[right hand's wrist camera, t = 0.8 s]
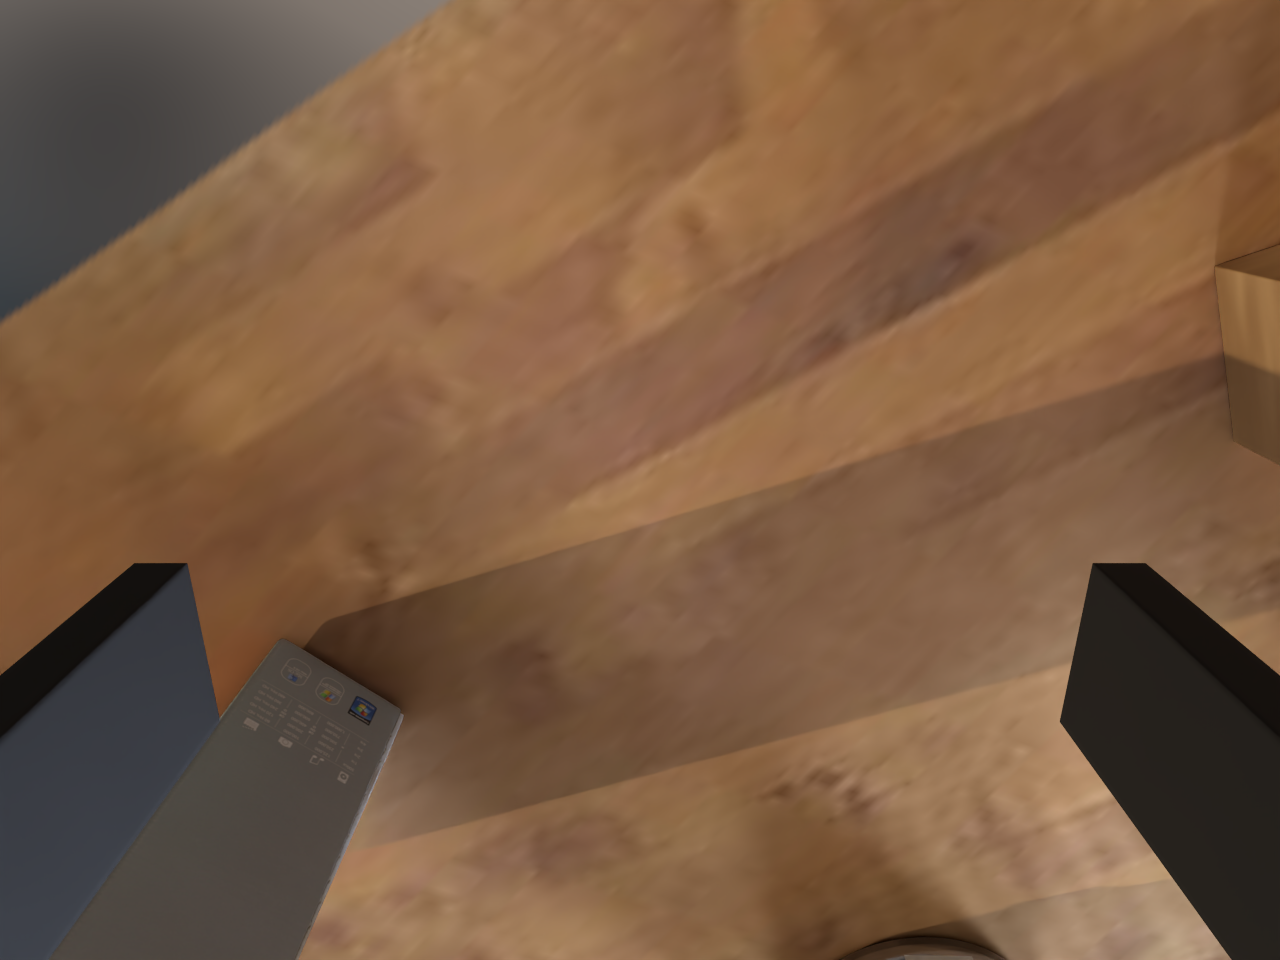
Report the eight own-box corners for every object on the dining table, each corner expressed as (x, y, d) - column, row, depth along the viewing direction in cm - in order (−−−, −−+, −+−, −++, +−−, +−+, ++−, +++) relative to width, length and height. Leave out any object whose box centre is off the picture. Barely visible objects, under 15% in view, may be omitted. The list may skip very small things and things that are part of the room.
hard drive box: (280, 629, 44) (19, 990, 25) (409, 708, 46) (253, 1099, 27) (140, 820, 48) (-170, 1246, 30) (262, 886, 50) (41, 1326, 32)
